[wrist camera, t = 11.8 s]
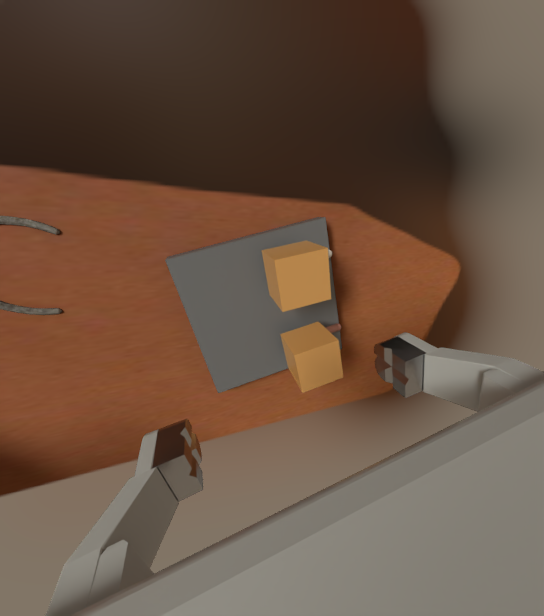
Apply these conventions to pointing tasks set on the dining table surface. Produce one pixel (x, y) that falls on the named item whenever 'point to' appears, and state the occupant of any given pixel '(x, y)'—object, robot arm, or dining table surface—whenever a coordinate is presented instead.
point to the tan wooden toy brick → (297, 274)
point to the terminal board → (257, 312)
